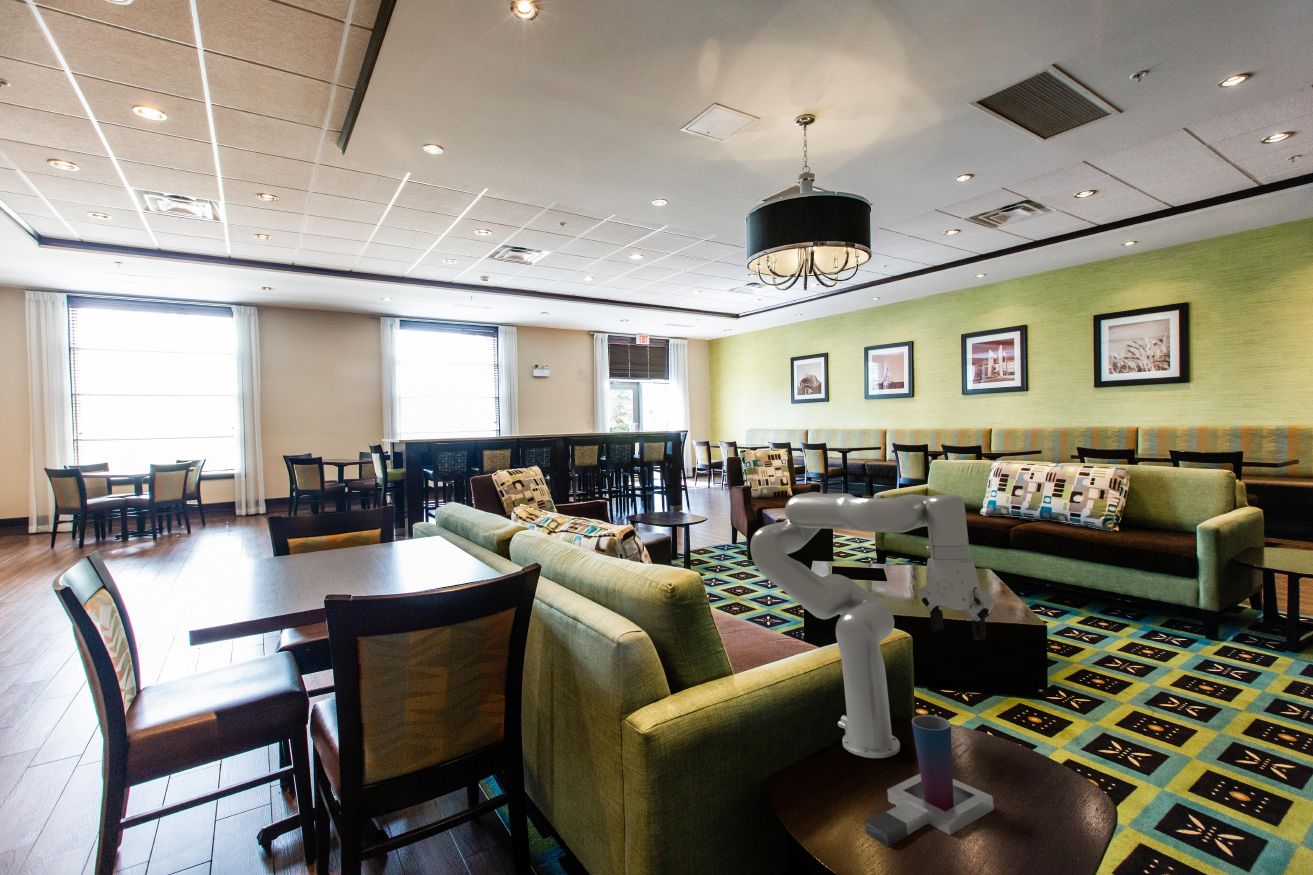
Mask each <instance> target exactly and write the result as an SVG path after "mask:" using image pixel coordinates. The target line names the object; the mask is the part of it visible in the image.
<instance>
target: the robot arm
mask: <svg viewBox="0 0 1313 875" xmlns="http://www.w3.org/2000/svg"><path fill="white" fill-rule="evenodd" d="M965 505H966V504H965V501H964V499H963V497H962V496H961V495H958V494H934V495H922V494H907V495H901V496H897V497H883V498H882V497H877V498H876V497H871V498H870V497H856V496H854V495H852V494H851V493H843V492H842V493H822V492H817V491H811V492H806V493H800V494H799V493H798V494H796V495H793V496H792V497H790V498H789V499H788V500H787V502H786V504H785V508H784V514H785V516H786V517H785V518H786V519H785V520H784V521H781V522H776V523H771V524H768V525H765V526H762V527H760V528H758V529H757V530H756V531H755V532H754V533H753V535H752V537H751V540H750V548H749V550H750V555H751V559H752V562H753V563H754V565H755V567H756V569H757V570H758V571H759V572H760V574H762V576H764V577H765V578H766V579H767V580H768V581H769V582H771V583H773V584H774V585H775V586H776V587H778V588H779V589H780V590H782V591H784V592H785V594H787V595H788V596H789V597H790V598H792V599H793V600H794V601H795V602H797V604H799V605H800V606H801V607H803V608H804V609H805V610H807V612H809V613H810V614H812V615H813V616H814V617H816V618H817V619H821V620H828V619H831V618H833V617H836V616H838V615H840V617H839V618H838V620H837V622H836V625H835V637H836V642H837V646H838V649H839V653H840V660H841V667H842V677H843V678H842V679H843V685H844V686H843V687H844V698H845V708H846V709H845V710H846V715H845V714H843V715H842V716H841V717H840V720H839V721H838V722H837V726H838V727H839V728H842V729H844V731H845V734H844V735H843V737H842V746H843V749H845V750H846V751H848V752H849V753H851V754H853V755H856V756H859V757H861V758H862V757H863V758H868V759H884V758H885V759H886V758H889V757H890V758H891V757H892V756H895V755H897V754H898V753H899V752H900V749H901V743H900V741H899V739H898V738H897V737H896V736H894V735H892V725H891V724H892V723H891V715H890V714H891V713H890V703H889V693H888V684H887V683H888V682H887V675H886V666H885V665H886V664H885V661H884V658H883V654H882V652H881V647H880V643H882V642H883V640H885V639H887V638H888V637H889V636H890V635H891V634H892V633H893V631H894V628H895V619H894V615H893V613H892V612H891V610H890V609H889V607H888V606H887V605H886V604H885V603H883V602H882V601H881V600H880V599H879V598H877V597H876V596H875V595H873V594H872V593H870V592H869V591H867V589H865V588H863V587H862V586H860V585H859V584H858V583H856V582H855V581H853V580H852V579H850V578H849V577H847V576H844V575H842V574H837V573H832V574H827V575H825V576H821V575H820V574H817V573H816V572H815V571H814V570H812V569H810V568H809V567H808V566H807V565H805V564H803V562H801V561H798V560H796V559H794V558H792V557H790V556H789V554H792V553H794V552H795V553H796V552H797V551H799V550H801V549H802V548H803V547H805V545H806V544H807V543H808V542H809V541H810V540H812V538H814V536H815V535H817V533H819V531H820V530H821V529H832V530H836V529H837V530H850V531H858V532H869V533H889V534H890V533H891V534H893V533H894V534H895V533H896V534H897V533H906V532H909V531H912V530H915V529H919V528H922V527H927V532H928V542H929V545H928V546H926V551H927V553H930V558H927V561H926V562H927V563H926V572H925V585H924V586H923V587H919V588H918V589H917V592H918V594H919V597H920V598H921V602H922V604H923V605H924V606H925V607H926V610H927V612H929V617H930V626H931V630H932V631H933V632H937V631H940V630H943V629H945V625H944V617H943V616H944V615H943V611H942V609H941V608H946V609H951V610H956V611H967V612H968V613H969V614H970V616H971V617H972V618H973V619H972V620H971V629H972V639H973V640H974V641H980V640H984V639H986V637H987V628H986V620H987V619H988V617H989V615H991V614H992V613H993V609H994V607H995V604H996V600H995V599H994V598H992V597H990V596H989V595H987V594H986V593H984V592H983V591H981V586H980V581H979V578H978V572H977V569H976V566H975V562H974V559H971V553H970V552H971V551H970V544H969V535H968V525H967V518H966V506H965ZM982 603H983V608H982V606H981V605H982Z"/></svg>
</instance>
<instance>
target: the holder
mask: <svg viewBox="0 0 1313 875" xmlns="http://www.w3.org/2000/svg"><path fill="white" fill-rule="evenodd" d="M953 798H954V806H953V808H951V809H950V810H941V809H939V808H937V807H935V806H933V805H931V804H929V803H927V802H925V800H924V794H923V787H922V781H921V775H920V773H918V774H916V775H914V776H912V777H910V778H907V779H906V780H904V781H902V782H900V783H898V784H896V785H893V786H892V787H889V788H887V800H888V803H889V802H890V803H889V804H891V803H892V804H891V805H893V804H895V805H896V806H895V805H894V807H892V808H891V809H889V810H886V811H885V810H882V811H881V812H879V813H877V814H875V815H873V816H871V817H869V818H867V819H865V820H864V823H865V825H864V827H865V833H866V835H868V836H870V837H872V838H873V839H874V840H877V841H878V842H879V843H881V844H883V845H884V846H886V847H891V846H893V845H895V843H896V844H897V842H898V843H899V841H902V840H903V839H904V838H907V837H908V836H909V835H910V834H912V833H914V832H915V831H917V830H919V829H921V828H922V826H923V827H925V826H926V825H928V823H929V825H930V824H931V826H933V827H934V828H936V829H938V830H940V831H941V832H944V833H945V834H948V835H949V836H951V835H953V834H954V833H957V832H958V831H959V830H961V829H964V828H965V827H966V825H967V826H968V825H970V824H972V823H973V822H975V821H977V820H978V819H981V818H982V817H983V816H985V815H987V814H989V813H990V812H992V811H994V810H995V808H994V799H993V795H991V794H988V793H986V792H984V791H982V790H980V789H978V788H975V787H973V786H971V785H968V784H966V783H964V782H961V781H959V780H956V779H955V778H953ZM924 825H925V826H924Z"/></svg>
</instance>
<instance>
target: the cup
mask: <svg viewBox="0 0 1313 875" xmlns="http://www.w3.org/2000/svg"><path fill="white" fill-rule="evenodd" d="M911 724H912V731H913V737H914V743H915V750H916V755H917V756H916V757H917V761H918V768H919V774H920V775H921V781H922V787H923V794H924V800H925V802H927V803H929V804H931V805H933V806H935V807H937V808H939V809H941V810H950V809H951V808H953V806H954V798H953V779H954V778H953V777H954V775H953V772H954V771H953V754H952V753H953V752H952V728H951V726H952V724H951V722H950V720H947V719H946V718H944V717H942V716H938V715H932V714H925V715H924V714H922V715H917V716H915V717H912V719H911Z"/></svg>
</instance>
